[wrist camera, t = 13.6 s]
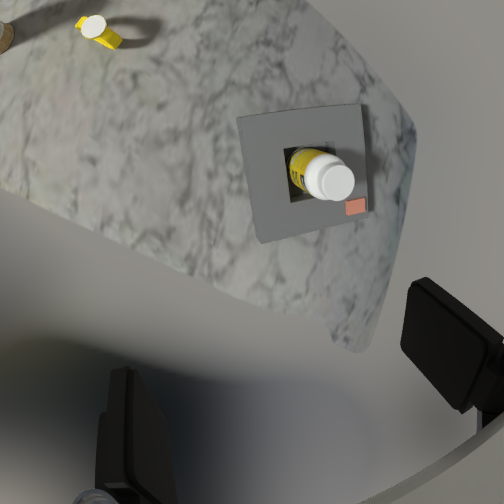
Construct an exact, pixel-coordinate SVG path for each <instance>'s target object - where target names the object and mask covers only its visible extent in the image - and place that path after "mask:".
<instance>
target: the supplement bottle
mask: <svg viewBox="0 0 504 504" xmlns="http://www.w3.org/2000/svg"><path fill="white" fill-rule="evenodd" d="M286 172H287V175H288V178H289V179H290V181H291V182H292V183H294V184H295V185H296V186H298V187H299V188H301V189H303V190H304V191H306V192H307V193H309V194H311V195H312V196H314V197H316V198H318V199H321V200H333V201H341V200H344V199H345V198H347V197H348V196H349V195H350V194H351V192H352V191H353V188H354V184H355V179H354V175H353V173H352V171H351V170H350V169H349V168H348V167H346V165H345V164H344V162H343V161H342V160H341V159H340V158H338V157H337V156H335V155H332V154H329V153H326V152H323V151H319V150H316V149H313V148H308V147H304V148H300V149H297V150H296V151H294V152H293V153H292V154H291V155H290V157H289V158H288V161H287V164H286Z"/></svg>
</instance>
